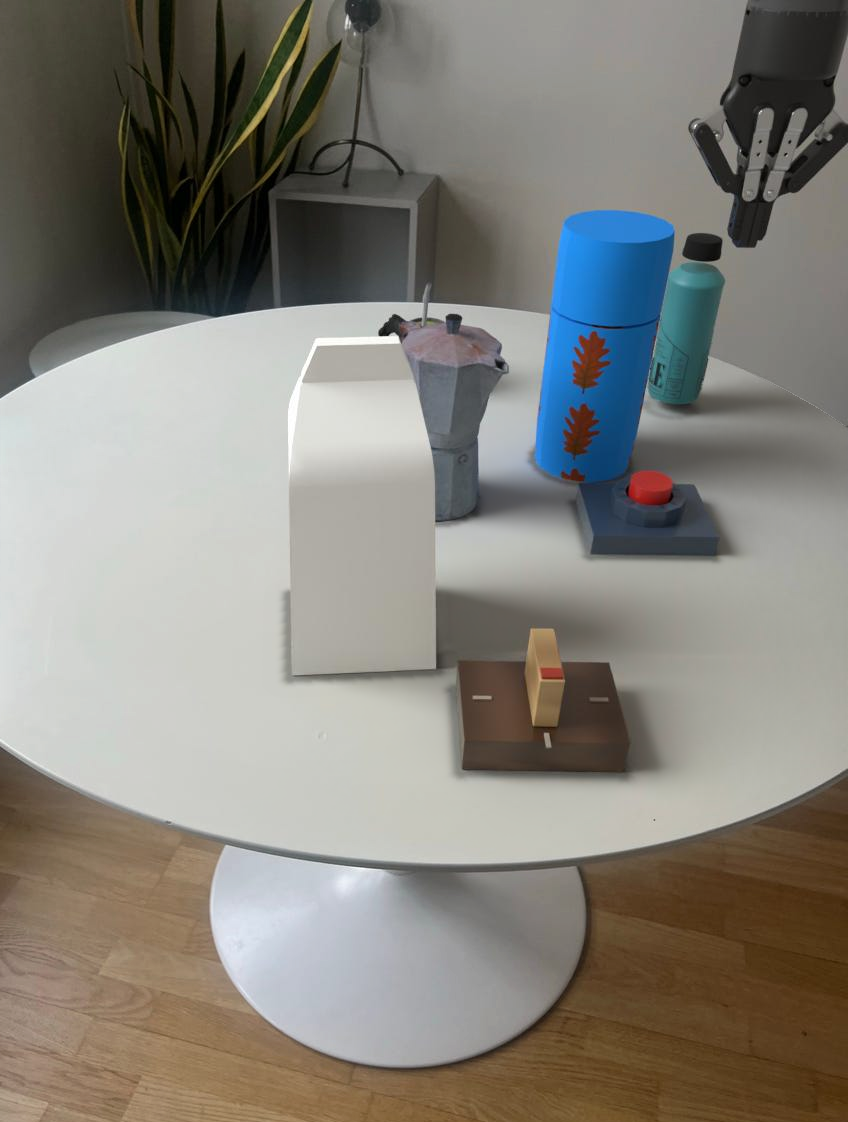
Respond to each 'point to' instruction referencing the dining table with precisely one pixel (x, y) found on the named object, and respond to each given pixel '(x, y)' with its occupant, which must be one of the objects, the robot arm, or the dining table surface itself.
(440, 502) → the moka pot
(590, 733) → the panel
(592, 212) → the thermos
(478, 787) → the dining table surface
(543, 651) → the handle
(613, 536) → the button box
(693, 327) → the beverage bottle
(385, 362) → the milk
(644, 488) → the button
